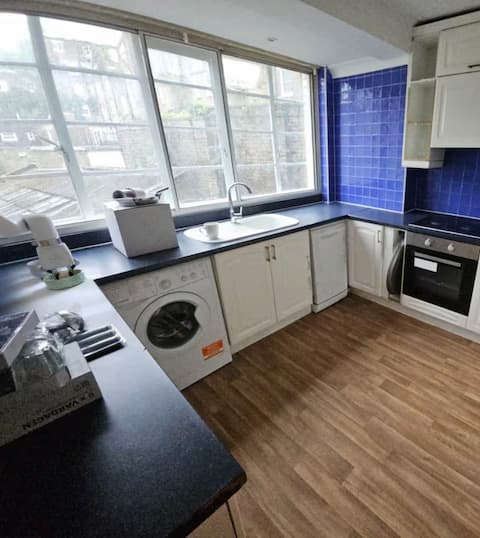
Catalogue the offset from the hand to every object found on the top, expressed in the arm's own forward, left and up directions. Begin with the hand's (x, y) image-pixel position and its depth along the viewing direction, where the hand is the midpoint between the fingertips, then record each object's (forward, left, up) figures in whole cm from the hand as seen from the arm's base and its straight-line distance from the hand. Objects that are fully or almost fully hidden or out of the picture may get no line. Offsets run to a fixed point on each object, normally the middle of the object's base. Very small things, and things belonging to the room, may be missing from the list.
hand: (67, 280), depth 135 cm
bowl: (0, -1, -1) cm, 2 cm away
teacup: (-8, +16, -2) cm, 18 cm away
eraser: (0, 0, -1) cm, 1 cm away
